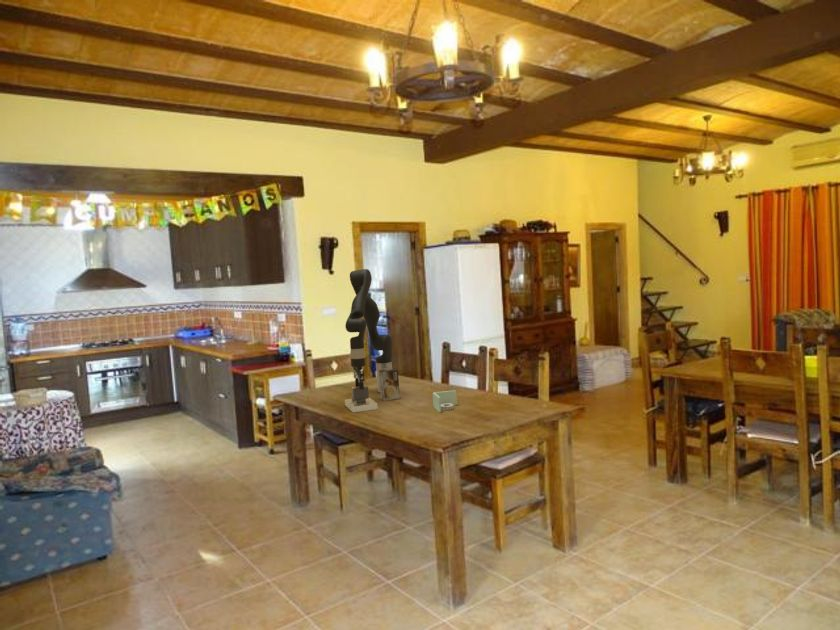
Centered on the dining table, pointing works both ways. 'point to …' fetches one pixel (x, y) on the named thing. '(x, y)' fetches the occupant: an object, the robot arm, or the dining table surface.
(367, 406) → the levelling base
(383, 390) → the coffee box
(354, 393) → the wing knob
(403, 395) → the dining table surface
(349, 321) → the robot arm
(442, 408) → the right angle wall
